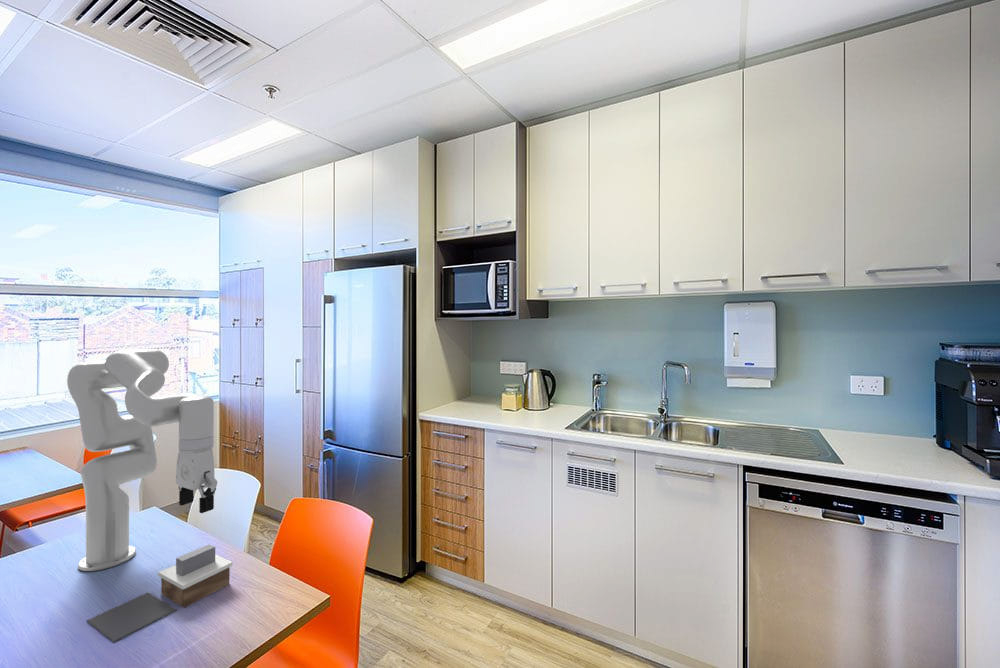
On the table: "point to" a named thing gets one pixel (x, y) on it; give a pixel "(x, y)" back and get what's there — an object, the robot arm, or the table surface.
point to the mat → (130, 616)
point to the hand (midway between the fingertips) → (196, 507)
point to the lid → (195, 567)
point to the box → (195, 589)
